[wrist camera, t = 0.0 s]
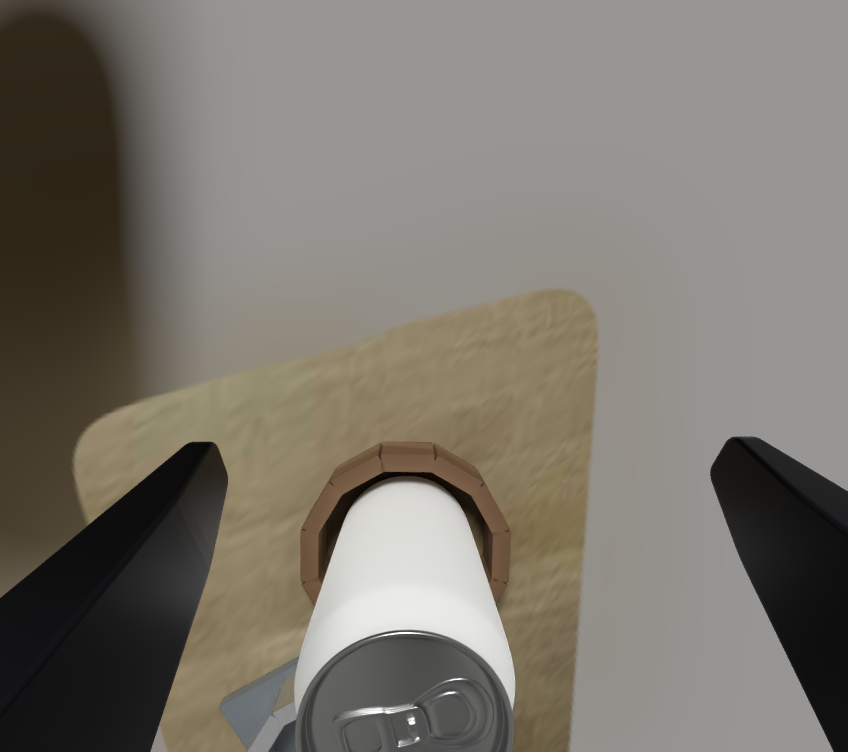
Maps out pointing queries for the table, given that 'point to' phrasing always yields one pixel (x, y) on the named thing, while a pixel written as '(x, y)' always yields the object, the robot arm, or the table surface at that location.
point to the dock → (251, 706)
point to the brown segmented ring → (404, 460)
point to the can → (405, 634)
